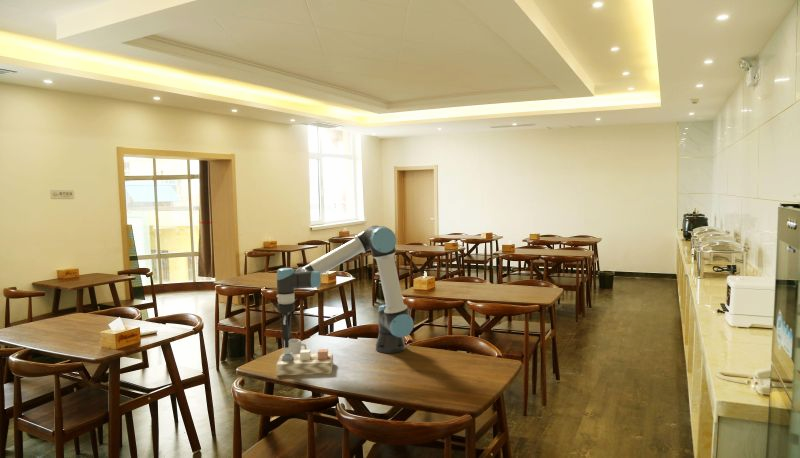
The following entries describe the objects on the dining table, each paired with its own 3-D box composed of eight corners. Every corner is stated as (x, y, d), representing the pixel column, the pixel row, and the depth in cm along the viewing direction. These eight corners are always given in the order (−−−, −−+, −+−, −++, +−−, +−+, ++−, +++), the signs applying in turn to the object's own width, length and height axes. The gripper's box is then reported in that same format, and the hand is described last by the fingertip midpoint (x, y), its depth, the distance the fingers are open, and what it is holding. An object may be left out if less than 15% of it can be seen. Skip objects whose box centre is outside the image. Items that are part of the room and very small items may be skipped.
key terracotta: (328, 359, 240) (327, 348, 240) (327, 362, 236) (327, 351, 236) (318, 359, 240) (318, 349, 240) (318, 362, 236) (317, 351, 236)
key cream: (310, 359, 240) (310, 349, 240) (309, 362, 236) (309, 352, 235) (301, 360, 240) (301, 349, 239) (300, 362, 236) (300, 352, 235)
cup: (308, 354, 260) (308, 338, 259) (304, 359, 252) (303, 343, 251) (287, 354, 261) (287, 338, 260) (282, 359, 253) (282, 343, 253)
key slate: (293, 362, 240) (292, 352, 239) (291, 365, 235) (291, 355, 235) (283, 363, 239) (283, 352, 239) (282, 366, 235) (282, 355, 235)
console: (333, 363, 246) (332, 353, 245) (331, 373, 232) (330, 362, 231) (281, 365, 244) (281, 354, 244) (276, 375, 230) (276, 364, 230)
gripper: (280, 299, 242) (281, 349, 243) (275, 305, 229) (276, 358, 230) (296, 299, 242) (297, 349, 244) (292, 305, 229) (293, 357, 231)
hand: (287, 353), depth 237 cm, fingers closed
